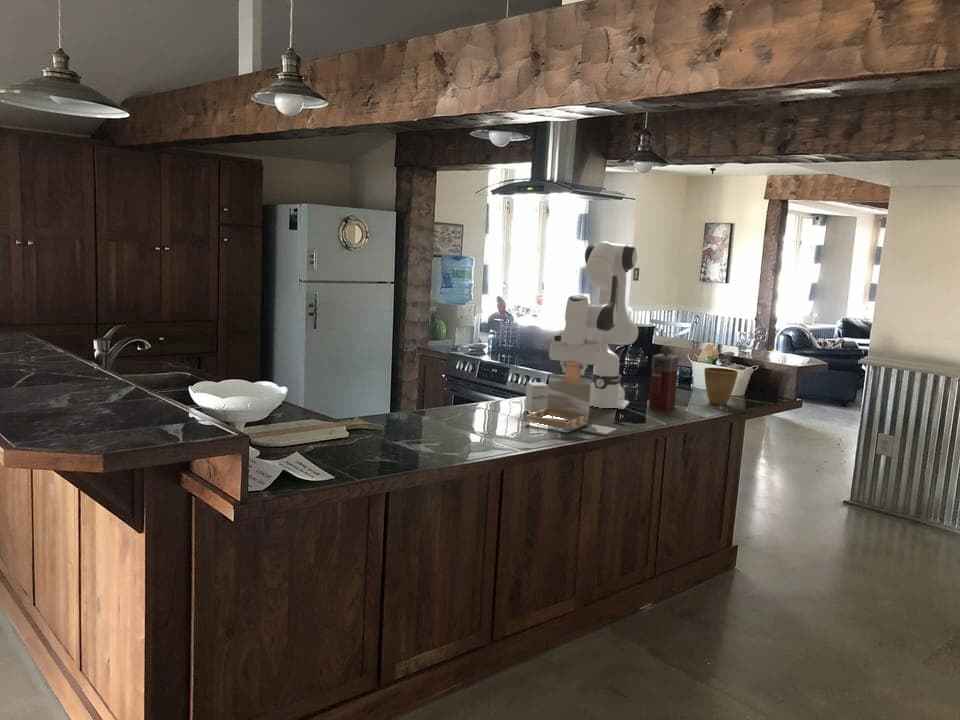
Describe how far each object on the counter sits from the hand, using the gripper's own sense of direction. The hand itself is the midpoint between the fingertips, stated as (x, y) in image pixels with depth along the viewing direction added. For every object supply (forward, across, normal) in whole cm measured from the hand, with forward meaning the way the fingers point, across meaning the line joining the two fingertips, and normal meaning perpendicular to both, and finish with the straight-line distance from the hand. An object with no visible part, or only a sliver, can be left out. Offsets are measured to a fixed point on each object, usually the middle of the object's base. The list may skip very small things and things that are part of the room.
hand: (573, 373), depth 299 cm
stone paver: (+21, -12, -1) cm, 24 cm away
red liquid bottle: (+21, -15, -62) cm, 67 cm away
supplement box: (+21, +21, -12) cm, 32 cm away
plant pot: (+22, -32, -90) cm, 98 cm away
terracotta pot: (+3, 0, 0) cm, 3 cm away
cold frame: (+21, +5, +1) cm, 22 cm away
